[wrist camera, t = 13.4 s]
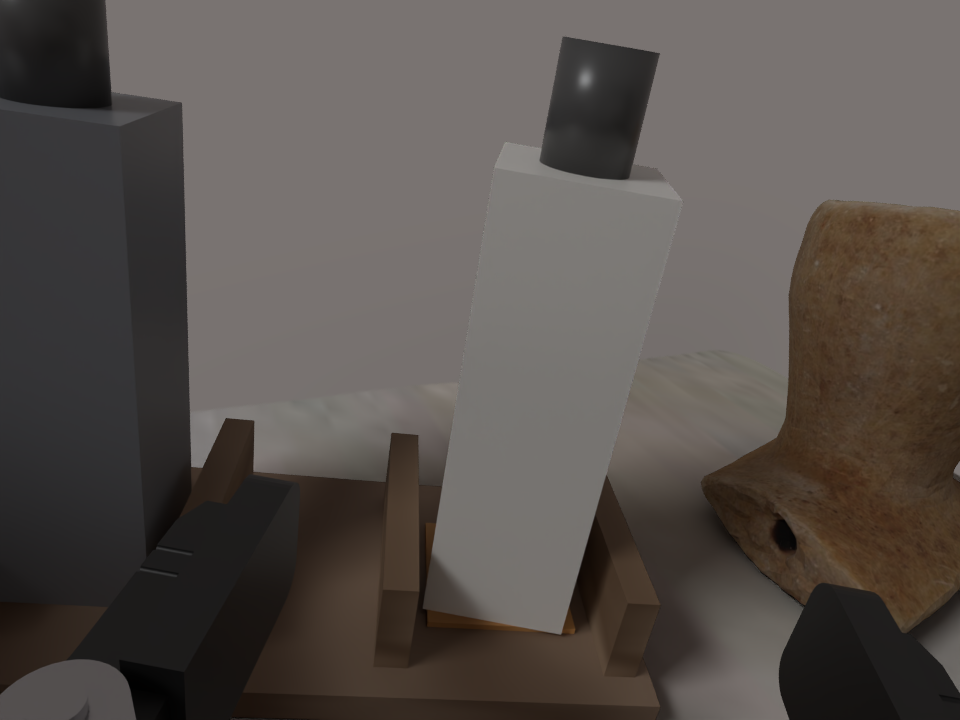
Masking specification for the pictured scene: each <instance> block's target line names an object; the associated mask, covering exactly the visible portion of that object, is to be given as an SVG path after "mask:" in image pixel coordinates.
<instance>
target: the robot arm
mask: <svg viewBox="0 0 960 720" xmlns="http://www.w3.org/2000/svg"><path fill="white" fill-rule="evenodd" d="M299 506H300V486H299V484H298V483H296V482H291V481H285V480H280V479H275V478H269V477H264V476H259V475H253V474H250V475H248V476H247V477H246V478H245V479H244V481H243V482H242V484H241V485H240V486H239V488H238V489H237V491H236V492H235V494H234V495H233V497H232V498H231V499H230V501H229V502H228V504H223V503H217V502H212V501H205V502H204V503H202V504H201V505H199V506H197V507H196V508H194V509H193V510H191V511H189V512H188V513H186V514H185V515H183V516H181V517H180V518H178V519H177V520H176V521H175V522H174V524H173V525H172V526H171V527H170V529H169V530H168V531H167V533H166V534H165V535H164V536H163V538H162V539H161V540H160V542H159V543H158V544H157V548H156V550H153V551H152V552H151V553H150V554H149V556H148V557H147V558H146V560H145V561H144V562H143V563H142V565H141V567H140V570H139V572H138V571H136V572H135V574H134V575H133V576H132V577H131V579H130V580H129V581H128V583H127V584H126V585H125V586H124V588H123V589H122V590H121V592H120V593H119V594H118V595H117V597H116V598H115V599H114V601H113V602H112V603H111V604H110V606H109V607H108V608H107V610H106V611H105V612H104V613H103V615H102V616H101V617H100V619H99V620H98V621H97V622H96V624H95V625H94V626H93V628H92V629H91V630H90V631H89V633H88V634H87V635H86V637H85V638H84V639H83V640H82V642H81V643H80V644H79V646H78V647H77V648H76V649H75V651H74V652H73V653H72V654H71V655H70V657H69V658H68V659H67V660H66V661H62V662H58V663H54V664H51V665H48V666H45V667H42V668H40V669H37V670H35V671H33V672H31V673H29V674H27V675H26V676H24V677H22V678H21V679H19V680H17V681H16V682H15V683H13V684H12V685H11V686H9V687H8V688H7V689H6V690H5V691H4V692H2V693H1V694H0V720H230V718H231V716H232V714H233V712H234V710H235V707H236V705H237V703H238V701H239V699H240V697H241V695H242V693H243V690H244V688H245V686H246V684H247V682H248V680H249V678H250V676H251V674H252V671H253V669H254V667H255V665H256V663H257V661H258V659H259V657H260V654H261V652H262V650H263V648H264V646H265V644H266V642H267V640H268V638H269V635H270V633H271V631H272V629H273V627H274V625H275V623H276V621H277V618H278V616H279V614H280V612H281V610H282V608H283V606H284V604H285V601H286V599H287V596H288V594H289V591H290V588H291V584H292V581H293V577H294V572H295V566H296V558H297V541H298V523H299ZM779 686H780V692H781V696H782V700H783V703H784V705H785V708H786V711H787V714H788V717H789V720H960V693H959V691H958V690H957V688H956V687H955V685H954V683H953V682H952V680H951V679H950V677H949V675H948V674H947V672H946V671H945V669H944V667H943V666H942V665H941V664H940V663H939V662H938V661H937V660H936V659H935V658H934V657H933V656H932V655H931V654H930V653H929V652H928V651H927V650H926V649H925V648H924V647H923V646H922V645H921V644H920V643H919V642H918V641H917V640H916V639H915V638H914V637H913V636H912V635H911V634H907V633H902V632H901V630H900V628H899V627H898V625H897V623H896V622H895V620H894V618H893V617H892V615H891V613H890V611H889V610H888V608H887V606H886V605H885V603H884V601H883V600H882V599H881V597H880V596H879V595H878V594H876V593H875V592H872V591H867V590H861V589H856V588H850V587H845V586H840V585H834V584H829V583H820V584H818V585H817V586H816V587H815V588H814V589H813V591H812V592H811V594H810V596H809V599H808V601H807V603H806V605H805V607H804V609H803V611H802V613H801V615H800V618H799V620H798V622H797V624H796V626H795V628H794V630H793V632H792V634H791V636H790V639H789V641H788V643H787V645H786V647H785V649H784V651H783V654H782V657H781V661H780V667H779Z"/></svg>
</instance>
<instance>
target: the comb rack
mask: <svg viewBox="0 0 960 720" xmlns="http://www.w3.org/2000/svg"><path fill="white" fill-rule="evenodd" d="M253 460H254V421H252V420H240V419H229V418H226V419H225V421H224V423H223V426H222V428H221V430H220V432H219V434H218V436H217V438H216V440H215V443H214V445H213V447H212V449H211V451H210V453H209V455H208V458H207V460H206V462H205V464H204V466H203V468H196V467H191V482H192V492H191V494H190V496H189V498H188V500H187V502H186V505H185V507H184V509H183V511H182V513H181V515H180V517H181V516H183V515H185V514H186V513H188V512H189V511H191V510H193V509H194V508H196V507H197V506H199V505H201V504H202V503H204V502H205V501H212V502H217V503H223V504H228V502H229V501H230V499H231V498H232V497H233V495H234V494H235V492H236V491H237V489H238V488H239V486H240V485H241V484H242V482H243V481H244V479H245V478H246V477H247V476H248V475H250V474H253V475H259V476H264V477H269V478H275V479H280V480H285V481H291V482H296V483H298V484H299V486H300V506H299V523H298V541H297V558H296V566H295V572H294V577H293V581H292V584H291V588H290V591H289V594H288V596H287V599H286V601H285V604H284V606H283V608H282V610H281V612H280V614H279V616H278V618H277V621H276V623H275V625H274V627H273V629H272V631H271V633H270V635H269V638H268V640H267V642H266V644H265V646H264V648H263V650H262V652H261V654H260V657H259V659H258V661H257V663H256V665H255V667H254V669H253V671H252V674H251V676H250V678H249V680H248V682H247V684H246V686H245V688H244V690H243V693H242V695H241V697H240V699H239V701H238V703H237V705H236V707H235V710H234V712H233V714H232V716H231V717H248V718H282V719H316V720H656V717H657V715H658V712H659V710H660V704H659V701H658V698H657V695H656V693H655V690H654V687H653V684H652V681H651V679H650V676H649V673H648V670H647V667H646V664H645V662H644V659H643V654H644V651H645V648H646V645H647V642H648V640H649V637H650V634H651V631H652V628H653V626H654V623H655V620H656V617H657V614H658V612H659V609H660V606H661V604H660V602H659V600H658V597H657V595H656V592H655V590H654V588H653V585H652V583H651V580H650V578H649V576H648V573H647V571H646V568H645V566H644V564H643V561H642V559H641V556H640V554H639V552H638V549H637V547H636V544H635V542H634V540H633V537H632V535H631V532H630V530H629V528H628V525H627V523H626V520H625V518H624V515H623V513H622V511H621V508H620V506H619V503H618V501H617V499H616V496H615V494H614V491H613V489H612V487H611V484H610V482H609V479H608V477H607V475H606V477H605V481H604V484H603V488H602V491H601V495H600V498H599V502H598V505H597V509H596V512H595V516H594V520H593V523H592V527H591V530H590V534H589V537H588V541H587V544H586V548H585V551H584V555H583V559H582V562H581V566H580V569H579V573H578V576H577V580H576V583H575V587H574V590H573V594H572V598H571V601H570V605H569V608H568V612H567V615H566V619H565V622H564V626H563V629H562V633H561V635H560V634H555V633H549V632H544V631H539V630H533V629H528V628H523V627H517V626H512V625H507V624H501V623H496V622H491V621H486V620H480V619H475V618H470V617H464V616H459V615H454V614H448V613H443V612H438V611H432V610H427V609H423V602H424V596H425V590H426V584H427V578H428V572H429V565H430V559H431V553H432V547H433V541H434V535H435V528H436V522H437V516H438V510H439V504H440V498H441V491H442V487H439V486H426V485H419V464H418V435H411V434H399V433H392V434H391V443H390V451H389V460H388V468H387V476H386V482H375V481H362V480H350V479H337V478H324V477H311V476H298V475H285V474H273V473H260V472H253ZM180 517H179V518H180ZM107 608H108V607H97V606H77V605H57V604H37V603H17V602H0V694H1V693H2V692H4V691H5V690H6V689H7V688H8V687H9V686H11V685H12V684H13V683H15V682H16V681H17V680H19V679H21V678H22V677H24V676H26V675H27V674H29V673H31V672H33V671H35V670H37V669H40V668H42V667H45V666H48V665H51V664H54V663H58V662H62V661H66V660H67V659H68V658H69V657H70V655H71V654H72V653H73V652H74V651H75V649H76V648H77V647H78V646H79V644H80V643H81V642H82V640H83V639H84V638H85V637H86V635H87V634H88V633H89V631H90V630H91V629H92V628H93V626H94V625H95V624H96V622H97V621H98V620H99V619H100V617H101V616H102V615H103V613H104V612H105V611H106V610H107Z"/></svg>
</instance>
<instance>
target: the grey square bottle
mask: <svg viewBox="0 0 960 720" xmlns="http://www.w3.org/2000/svg"><path fill="white" fill-rule="evenodd" d="M185 244H186V243H185V204H184V164H183V124H182V103H181V102H174V101H167V100H161V99H154V98H147V97H140V96H134V95H127V94H120V93H114V92H111V82H110V66H109V50H108V35H107V21H106V5H105V0H0V602H17V603H37V604H57V605H77V606H97V607H109V606H110V604H111V603H112V602H113V601H114V599H115V598H116V597H117V595H118V594H119V593H120V592H121V590H122V589H123V588H124V586H125V585H126V584H127V583H128V581H129V580H130V579H131V577H132V576H133V575H134V574H135V572H136V571H138V572H139V570H140V567H141V565H142V563H143V562H144V561H145V560H146V558H147V557H148V556H149V554H150V553H151V552H152V551H153V550H156V548H157V544H158V543H159V542H160V540H161V539H162V538H163V536H164V535H165V534H166V533H167V531H168V530H169V529H170V527H171V526H172V525H173V524H174V522H175V521H176V520H177V519H178V518H179V517H180V515H181V513H182V511H183V509H184V507H185V505H186V502H187V500H188V498H189V496H190V494H191V492H192V482H191V442H190V404H189V403H190V402H189V366H188V365H189V363H188V323H187V285H186V284H187V283H186V245H185Z"/></svg>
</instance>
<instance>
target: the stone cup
mask: <svg viewBox="0 0 960 720" xmlns="http://www.w3.org/2000/svg"><path fill="white" fill-rule="evenodd" d="M789 328H790V329H789V382H788V396H787V408H786V418H785V421H784V423H783V426H782V428H781V430H780V432H779V434H778V436H777V438H776V439H774V440H772V441H770V442H769V443H767V444H765V445H763V446H761V447H759V448H758V449H756V450H754V451H752V452H750V453H748V454H746V455H744V456H743V457H741V458H740V459H738V460H736V461H735V462H733V463H731V464H729V465H727V466H725V467H723V468H721V469H719V470H717V471H715V472H713V473H711V474H709V475H706V476H704V478H703V480H702V482H701V486H702V490H703V492H704V494H705V497H706V498H707V500H708V501H709V502H710V504H711V505H712V506H713V508H714V510H715V511H716V513H717V514H718V516H719V518H720V519H721V521H722V523H723V524H724V526H725V528H726V529H727V531H728V532H729V533H730V534H731V536H732V537H733V538H734V539H735V540H736V542H737V543H738V544H739V546H740V547H741V549H742V550H743V551H744V553H745V554H746V555H747V556H748V557H749V558H750V559H751V560H752V561H753V562H754V563H755V565H756V566H757V567H758V568H759V570H760V571H761V572H762V573H763V574H765V575H766V576H767V577H769V578H770V579H771V580H773V581H774V582H775V583H777V584H778V585H779V587H780V588H781V589H783V590H784V591H785V592H786V593H788V594H789V595H792V596H793V597H794V598H795V599H797V600H798V601H799V602H800V603H802V604H803V605H806V603H807V601H808V599H809V596H810V594H811V592H812V591H813V589H814V588H815V587H816V586H817V585H818V584H820V583H829V584H834V585H840V586H845V587H850V588H856V589H861V590H867V591H872V592H875V593H876V594H878V595H879V596H880V597H881V599H882V600H883V601H884V603H885V605H886V606H887V608H888V610H889V611H890V613H891V615H892V617H893V618H894V620H895V622H896V623H897V625H898V627H899V628H900V630H901V632H902V633H907V632H909V631H910V630H911V629H913V628H914V627H915V626H917V625H918V624H919V623H921V622H922V621H923V620H924V619H926V618H928V617H930V616H931V615H932V614H933V613H935V612H936V611H937V610H938V609H939V608H941V607H942V606H943V605H944V604H945V603H946V602H947V601H949V600H950V598H951V597H952V596H953V595H954V594H955V593H956V592H957V591H958V590H959V589H960V482H958V481H957V480H955V479H954V478H953V472H954V469H955V467H956V465H957V464H958V462H959V461H960V211H956V210H949V209H942V208H935V207H912V206H906V205H897V204H886V203H875V202H859V201H839V200H828V201H825V202H823V203H822V204H821V205H820V206H819V207H818V208H817V209H816V211H815V212H814V213H813V215H812V217H811V218H810V221H809V223H808V225H807V228H806V231H805V234H804V238H803V241H802V244H801V247H800V250H799V253H798V255H797V258H796V261H795V265H794V269H793V273H792V277H791V285H790V291H789Z"/></svg>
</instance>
